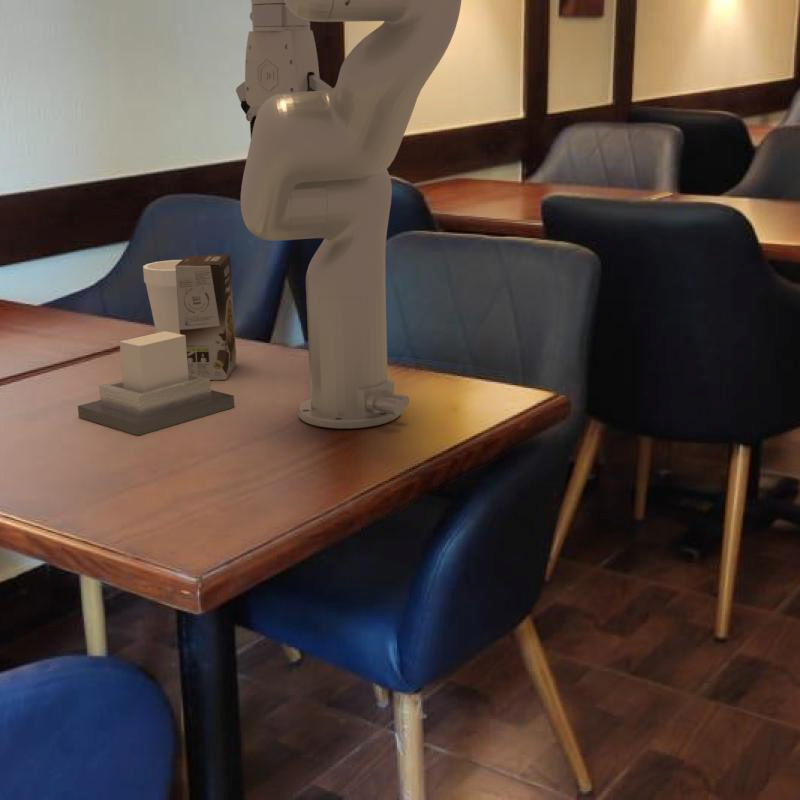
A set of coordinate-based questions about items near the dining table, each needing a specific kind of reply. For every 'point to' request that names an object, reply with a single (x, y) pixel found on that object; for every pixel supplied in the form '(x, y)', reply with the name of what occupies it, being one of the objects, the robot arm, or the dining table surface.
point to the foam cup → (163, 294)
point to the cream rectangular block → (154, 361)
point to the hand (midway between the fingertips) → (286, 152)
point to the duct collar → (155, 405)
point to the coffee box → (207, 314)
